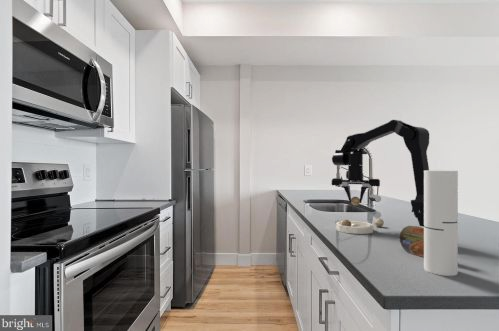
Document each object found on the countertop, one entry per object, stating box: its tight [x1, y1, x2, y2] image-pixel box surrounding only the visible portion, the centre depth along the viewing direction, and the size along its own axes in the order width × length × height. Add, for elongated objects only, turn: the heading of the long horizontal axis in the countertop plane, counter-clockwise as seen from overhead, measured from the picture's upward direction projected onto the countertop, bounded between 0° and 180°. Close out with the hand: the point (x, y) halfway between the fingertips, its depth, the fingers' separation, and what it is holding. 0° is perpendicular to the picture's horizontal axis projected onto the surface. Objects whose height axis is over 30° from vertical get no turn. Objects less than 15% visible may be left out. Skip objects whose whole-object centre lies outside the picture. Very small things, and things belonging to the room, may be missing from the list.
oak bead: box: [350, 196, 361, 206], centre depth 127 cm, size 4×4×4 cm
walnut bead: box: [342, 219, 351, 227], centre depth 122 cm, size 4×4×4 cm
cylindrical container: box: [423, 169, 459, 277], centre depth 76 cm, size 7×7×25 cm
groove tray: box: [335, 220, 374, 235], centre depth 123 cm, size 14×14×2 cm
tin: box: [399, 225, 424, 259], centre depth 88 cm, size 15×3×8 cm, turn 25°
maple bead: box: [374, 217, 385, 228], centre depth 130 cm, size 4×4×4 cm
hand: (355, 202), depth 127 cm, fingers closed on oak bead, 4 cm apart
